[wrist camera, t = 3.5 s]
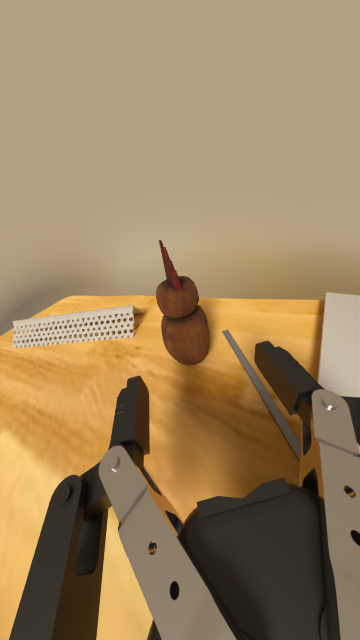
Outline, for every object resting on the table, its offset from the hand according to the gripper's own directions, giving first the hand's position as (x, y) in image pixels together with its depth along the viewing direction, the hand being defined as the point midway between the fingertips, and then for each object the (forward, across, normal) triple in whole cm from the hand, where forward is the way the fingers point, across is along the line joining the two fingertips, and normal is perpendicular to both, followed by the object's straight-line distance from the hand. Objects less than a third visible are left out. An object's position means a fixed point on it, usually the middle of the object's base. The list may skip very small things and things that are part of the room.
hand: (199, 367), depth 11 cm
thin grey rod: (+2, -6, +8) cm, 11 cm away
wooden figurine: (+9, 0, +9) cm, 13 cm away
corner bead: (+24, +22, +9) cm, 34 cm away
